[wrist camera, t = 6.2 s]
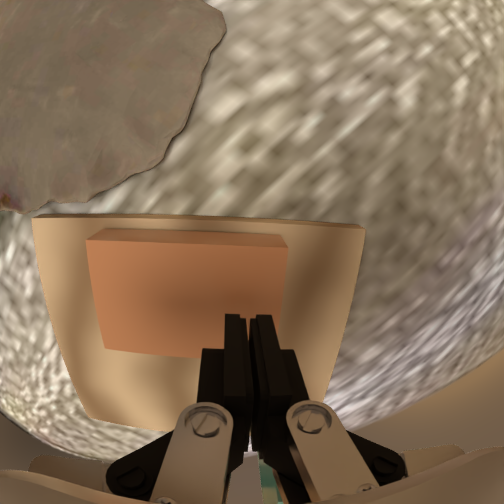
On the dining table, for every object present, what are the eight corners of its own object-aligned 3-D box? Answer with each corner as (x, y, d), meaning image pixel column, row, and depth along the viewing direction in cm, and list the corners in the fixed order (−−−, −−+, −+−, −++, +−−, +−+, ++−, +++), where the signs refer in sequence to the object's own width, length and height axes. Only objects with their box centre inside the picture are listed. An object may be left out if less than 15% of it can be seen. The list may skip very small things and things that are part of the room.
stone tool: (262, 127, 15) (156, -103, 6) (275, 121, 11) (151, -125, 2) (8, 253, 15) (-34, 13, 6) (-19, 272, 12) (-54, 6, 2)
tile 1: (288, 247, 12) (85, 240, 11) (274, 359, 14) (104, 348, 13) (279, 233, 14) (104, 227, 13) (268, 334, 16) (117, 325, 15)
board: (358, 225, 15) (366, 229, 14) (309, 422, 21) (311, 431, 20) (40, 214, 14) (31, 218, 13) (91, 409, 19) (88, 417, 18)
